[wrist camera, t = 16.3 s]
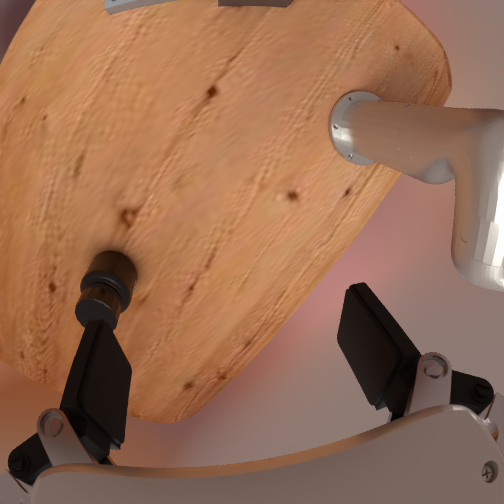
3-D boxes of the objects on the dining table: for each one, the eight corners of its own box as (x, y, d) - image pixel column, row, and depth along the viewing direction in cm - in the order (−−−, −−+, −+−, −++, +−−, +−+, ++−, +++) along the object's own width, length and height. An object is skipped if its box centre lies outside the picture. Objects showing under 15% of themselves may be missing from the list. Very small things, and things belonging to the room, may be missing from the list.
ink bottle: (102, 297, 46) (85, 342, 36) (81, 258, 42) (56, 299, 32) (146, 286, 47) (136, 334, 37) (128, 244, 43) (109, 286, 32)
